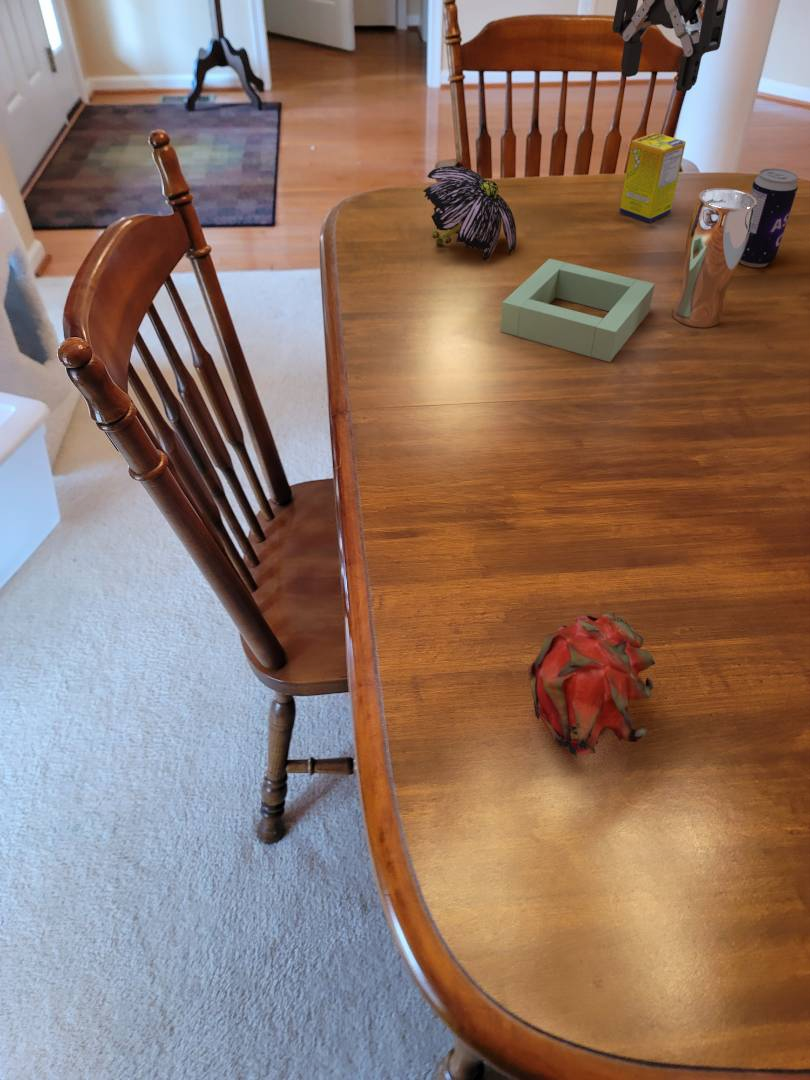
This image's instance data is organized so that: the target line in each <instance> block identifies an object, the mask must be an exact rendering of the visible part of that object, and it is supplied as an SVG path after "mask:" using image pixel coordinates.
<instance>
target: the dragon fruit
mask: <svg viewBox="0 0 810 1080" xmlns="http://www.w3.org/2000/svg"><path fill="white" fill-rule="evenodd" d="M643 644H644V638H643V637H642V635H640V634H639V633H637V632H636V631H635V630H634V628H633V627H632V626H631V625H630V624H628V623H627V622H626V621H625V620H624V619H623V617H622V616H620V615H617V618H616V615H615V613H613V612H606V613H602V614H601V615H599V616H597V617H596V616H592V615H589V614H581V615H578V616H576V617H575V619H574V623H573V625H568V626H566V625H560V626H559V627H558V628H557V630H556V632H552V633H548V634H546V635H545V636H544V637H543V639H542V645H541V648H540V651H539V653H538V655H537V656H536V658H535V660H534V661H533V662H532V663H531V664H530V665H529V667H528V669H527V677H528V681H529V686H530V690H531V697H532V700H533V708H534V715H535V718H536V719H537V720H540V719H541V722H542V723H543V725H544V726H545V728H546V729H547V730H548V732H549V733H551V736H552V737H553V739H554V743H556V744H557V745H558V746H559V747H562V746H563V747H565V748H567V749H568V752H569V753H570V754H571V755H573V756H574V758H577V757H578V756H586V755H591V754H596V749H595V747H596V746H597V745H598V744H599V739H600V737H599V735H600V732H601V731H602V730H603V729H605V728H606V727H607V728H608V729H609V730H611V731H612V732H613V733H614V735H615V736H616V738H617V739H618V740H619V741H622V740H624V741H625V742H626V741H627V742H631V743H637V742H639V741H640V740H641V739H644V737H645V736H646V734H647V733H648V731H649V729H648V728H644V727H642V728H641V727H640V728H637V729H635V728H633V727H632V726H633V723H634V721H633V718H632V716H630V714H629V704H630V703H629V701H630V700H646V699H650V698H651V697H652V695H653V693H652V692H653V691H652V690H653V689H654V684H653V681H652V680H651V679H650V678H649V677H646V679H645V682H644V680H643V679H642V678H641V676H640V673H641V672H643V671H645V670H647V669H649V668H650V667H652V666H654V665H656V660H655V659H654V657H653V655H652V654H651V653H650V652H649V651H648V650H646V649H643V648H642V647H643Z"/></svg>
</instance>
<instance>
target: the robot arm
mask: <svg viewBox="0 0 810 1080" xmlns="http://www.w3.org/2000/svg"><path fill="white" fill-rule="evenodd" d="M728 2H729V0H642V3H641V4H640V6H639V7H638V4H639V0H616V6H615V10H614V17H613V22H612V31H613V33H614V34H619V35H620V36H621V37H622V40H623V41H624V42H623V50H622V55H621V63H620V70H621V75H622V76H623V77H625V78H626V77H627V78H631V77H634V76H636V75H637V74H638V73H639V69H640V63H641V58H642V57H641V56H642V52H643V45H644V41H643V40H641V39H642V38H643V37H644V36H645V34H646V33H647V31H649V29H650V28H651V27H652V26H660V25H661V26H662V27H664V28H665V29H669V30H670V29H671V30H672V29H673V31H674V35H675V36H676V38H678V39H679V41H680V44H681V47H682V50H683V51H682V52H683V53H684V55H682V56H681V60H680V66H679V70H678V75H677V80H676V86H675V90H676V91H677V92H681V93H683V92H688V91H691V89H692V88H693V87H694V86H695V85H696V84H697V80H698V76H699V71H700V67H701V62H702V57H703V56H704V55H705V54H706V53H710V52H715V51H718V49H720V47H721V42H722V38H723V31H724V26H725V20H726V14H727V9H728ZM699 8H700V9H701V11H703V12H702V16H701V13H700V10H699ZM687 23H689V24H687Z"/></svg>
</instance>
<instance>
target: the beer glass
mask: <svg viewBox="0 0 810 1080" xmlns="http://www.w3.org/2000/svg"><path fill="white" fill-rule="evenodd" d="M756 204H757V200H756V199H755V198H754V197H753V196H752V195H750V193H748V192H745V191H742V190H739V189H733V188H726V187H725V188H724V187H714V188H708V189H704V190H702V191H701V192H699V193H698V197H697V200H696V204H695V207H694V209H693V213H692V217H691V219H690V222H689V226H688V229H687V230H688V232H687V234H686V235H687V236H686V240H685V248H684V249H685V250H684V262H683V277H682V278H683V279H682V284H681V289H680V292H679V295H678V298H677V300H676V302H675V304H674V307H673V309H672V316H673V318H674V319H675V320H676V321H677V322H679V323H681V324H682V325H685V326H687V327H688V326H689V327H692V328H700V329H702V328H703V329H705V328H706V329H707V328H712V327H715V326H717V325H719V324H720V323H721V321H722V319H723V310H724V302H725V301H724V300H725V295H726V292H727V290H728V287H729V285H730V283H731V280H732V279H733V277H734V274H735V272H736V271H737V268H738V266H739V264H740V260H741V258H742V255H743V253H744V251H745V248H746V245H747V242H748V239H749V235H750V231H751V227H752V223H753V218H754V212H755V208H756Z"/></svg>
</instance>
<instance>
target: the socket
mask: <svg viewBox="0 0 810 1080" xmlns="http://www.w3.org/2000/svg"><path fill="white" fill-rule="evenodd" d="M655 287H656V283H653V282H649V281H645V280H642V279H641V280H640V279H637V278H632V277H628V276H624V275H620V274H615V273H611V272H606V271H603V270H600V269H599V270H598V269H594V268H592V267H591V268H590V267H586V266H583V265H578V264H575V263H574V264H573V263H569V262H566V261H563V260H562V261H561V260H558V259H553V258H548V259H547V260H546V261H545V262H544V263H543V264H542V265H540V266H539V268H538V269H536V270H535V272H533V273H532V274H531V275H530V276H529V277H527V279H525V281H524V282H523V283H521V284H520V285H519V286H518V287H516V289H515V290H514V291H513V292H512V293H510V295H508V296H507V297H506V298H505V299H504V300H503V301H502V305H501V315H500V327H499V332H500V333H504V334H508V335H512V336H515V337H518V338H522V339H525V340H529V341H533V342H536V343H539V344H542V345H547V346H551V347H554V348H557V349H560V350H564V351H568V352H571V353H575V354H578V355H582V356H586V357H589V358H592V359H597V360H602V361H604V362H608V363H611V361H612V360H613V359H614V358H615V356H616V355H617V354H618V352H619V351H620V350H621V349H622V347H624V345H625V344H626V342H627V341H628V340H629V338H630V337H631V336H632V335H633V334H634V332H635V331H636V330H637V328H638V327H639V326H640V325H641V323H642V322H643V321H644V319H645V318H646V317H647V316H648V314H649V313H650V310H651V304H652V299H653V295H654V290H655ZM555 299H559V300H563V301H566V302H571V303H574V304H579V305H582V306H587V307H590V308H594V309H597V310H602V311H606V312H608V313H606V315H605V316H604V317H600V316H597V315H592V314H589V313H585V312H581V311H578V310H577V311H576V310H573V309H570V308H566V307H562V306H558V305H554V304H552V302H553V301H554V300H555Z"/></svg>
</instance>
